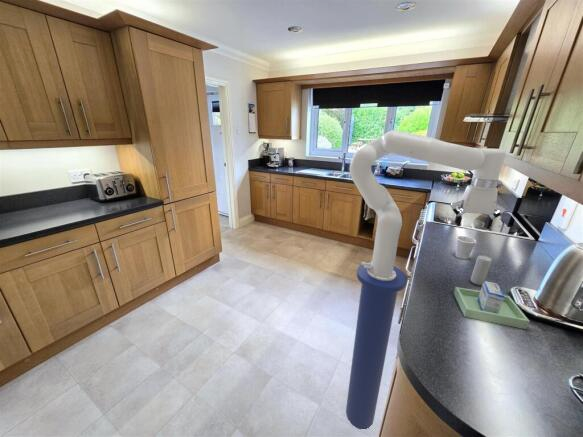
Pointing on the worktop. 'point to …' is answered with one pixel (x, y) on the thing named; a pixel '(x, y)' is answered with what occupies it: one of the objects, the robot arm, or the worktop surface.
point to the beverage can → (481, 270)
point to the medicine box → (490, 297)
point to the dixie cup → (464, 246)
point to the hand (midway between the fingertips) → (471, 226)
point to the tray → (506, 315)
